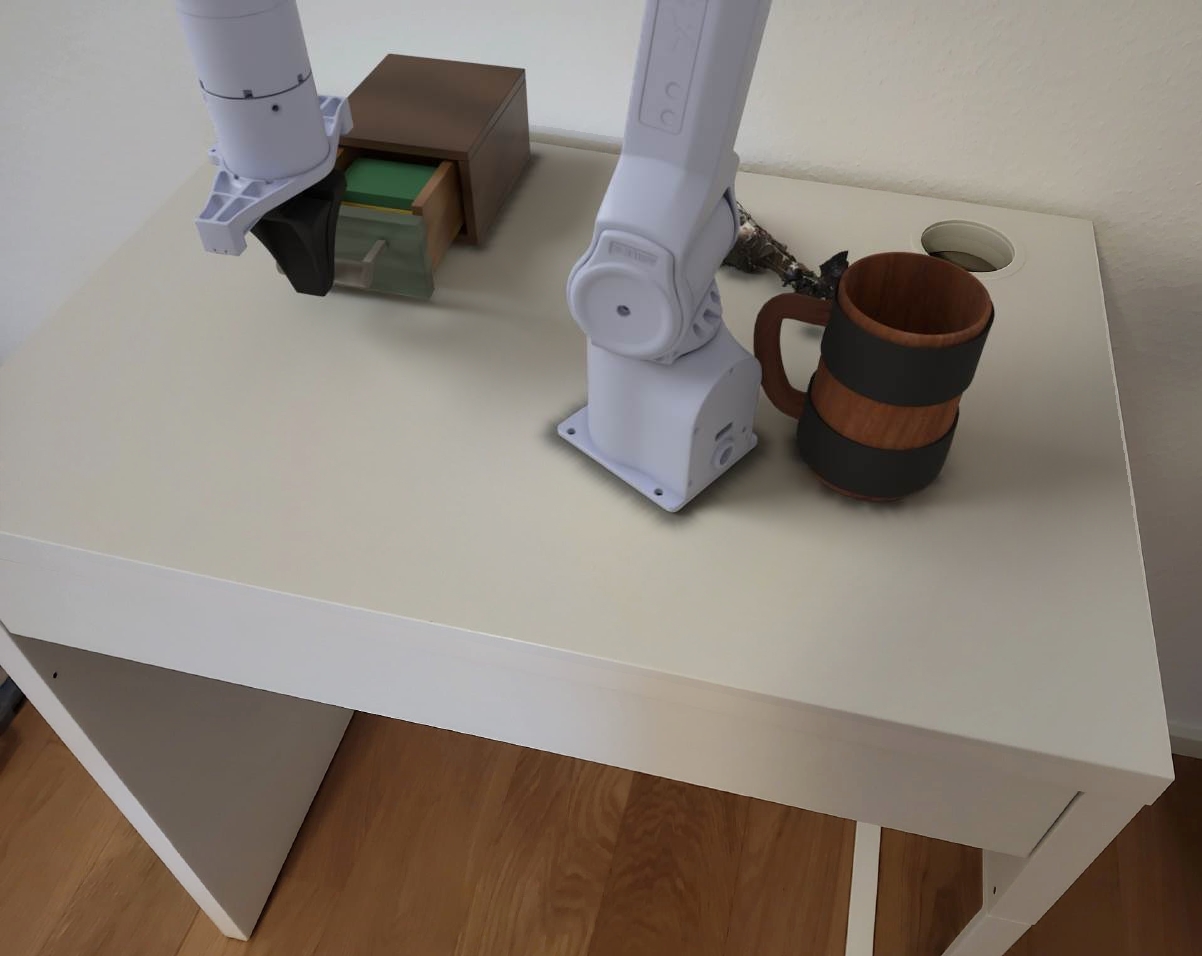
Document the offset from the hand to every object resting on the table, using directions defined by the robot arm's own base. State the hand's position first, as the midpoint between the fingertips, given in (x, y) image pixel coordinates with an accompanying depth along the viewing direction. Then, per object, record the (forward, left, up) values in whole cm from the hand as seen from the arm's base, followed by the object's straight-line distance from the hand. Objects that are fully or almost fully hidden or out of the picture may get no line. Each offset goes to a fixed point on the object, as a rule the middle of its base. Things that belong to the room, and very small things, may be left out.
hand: (314, 288), depth 59 cm
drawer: (+5, -8, -4) cm, 10 cm away
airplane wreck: (-15, -26, -5) cm, 30 cm away
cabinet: (+10, -18, -4) cm, 21 cm away
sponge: (+6, -11, -2) cm, 12 cm away
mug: (-30, -16, -5) cm, 34 cm away
